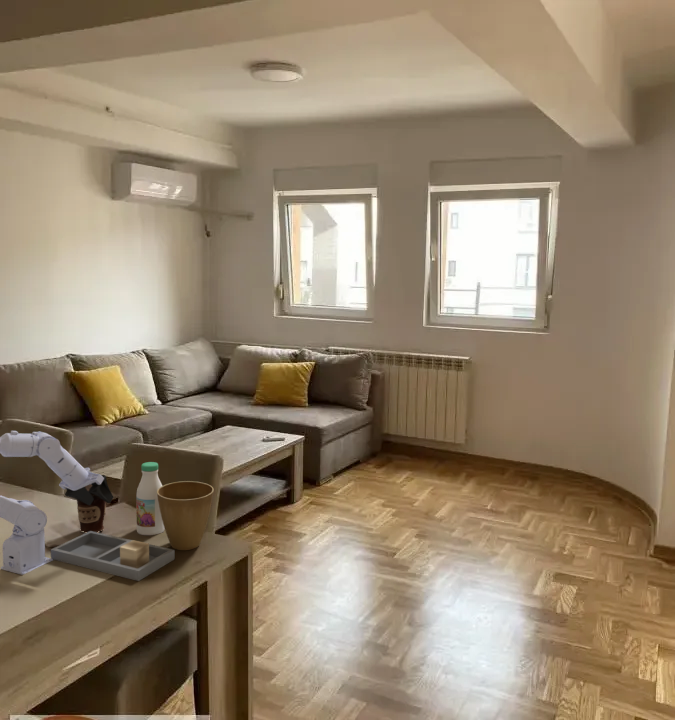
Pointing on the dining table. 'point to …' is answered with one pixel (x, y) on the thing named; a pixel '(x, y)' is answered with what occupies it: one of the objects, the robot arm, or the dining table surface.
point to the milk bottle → (148, 501)
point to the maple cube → (134, 554)
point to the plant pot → (185, 512)
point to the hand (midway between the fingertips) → (101, 501)
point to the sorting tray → (109, 555)
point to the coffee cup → (91, 513)
